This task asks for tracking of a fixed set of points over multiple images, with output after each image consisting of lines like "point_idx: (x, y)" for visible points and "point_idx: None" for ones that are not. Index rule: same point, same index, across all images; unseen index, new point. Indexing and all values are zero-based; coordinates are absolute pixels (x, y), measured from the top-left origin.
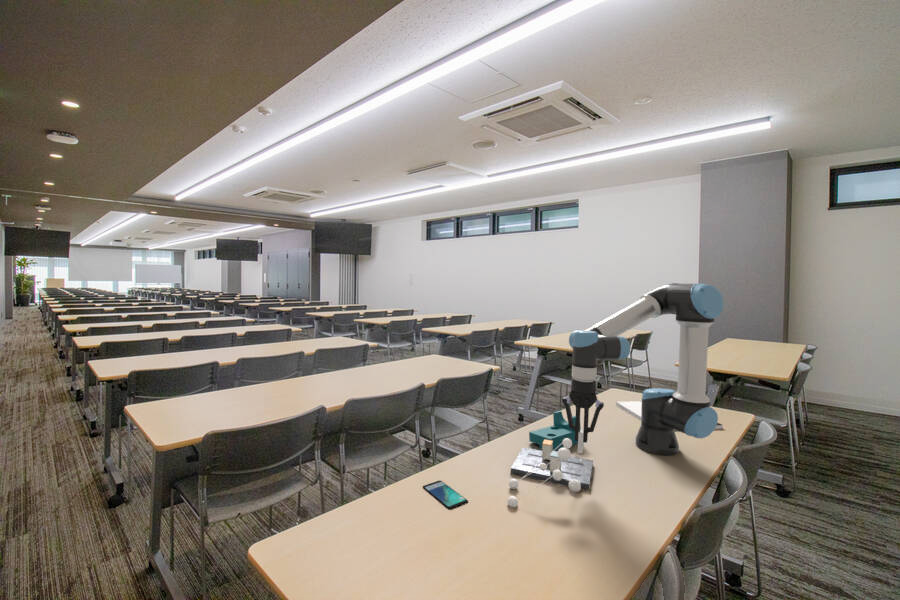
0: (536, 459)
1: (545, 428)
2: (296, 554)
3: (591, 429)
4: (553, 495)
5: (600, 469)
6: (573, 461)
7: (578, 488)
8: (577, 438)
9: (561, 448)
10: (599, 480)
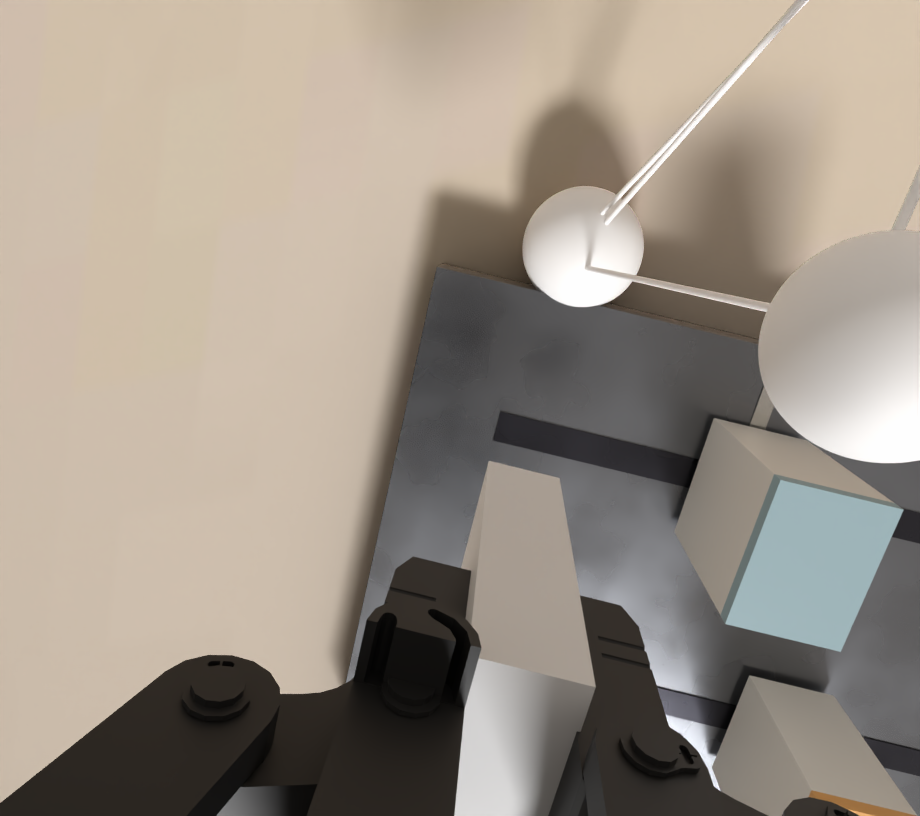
0: (888, 678)
1: None
2: None
3: (203, 711)
4: (804, 94)
5: (290, 654)
6: None
7: (553, 195)
8: (586, 627)
9: None
10: (324, 465)
